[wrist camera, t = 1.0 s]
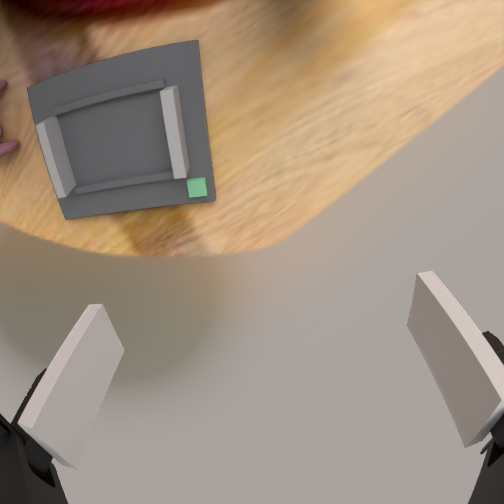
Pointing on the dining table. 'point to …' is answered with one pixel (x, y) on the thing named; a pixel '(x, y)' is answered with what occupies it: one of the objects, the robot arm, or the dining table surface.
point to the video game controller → (4, 147)
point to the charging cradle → (126, 132)
